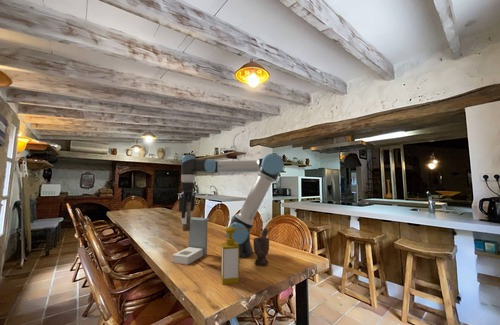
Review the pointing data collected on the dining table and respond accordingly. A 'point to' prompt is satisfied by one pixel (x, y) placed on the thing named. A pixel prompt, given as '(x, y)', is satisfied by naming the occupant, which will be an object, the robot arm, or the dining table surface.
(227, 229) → the soap bottle
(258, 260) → the mortar and pestle
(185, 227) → the walnut dowel
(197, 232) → the stand
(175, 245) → the dining table surface
